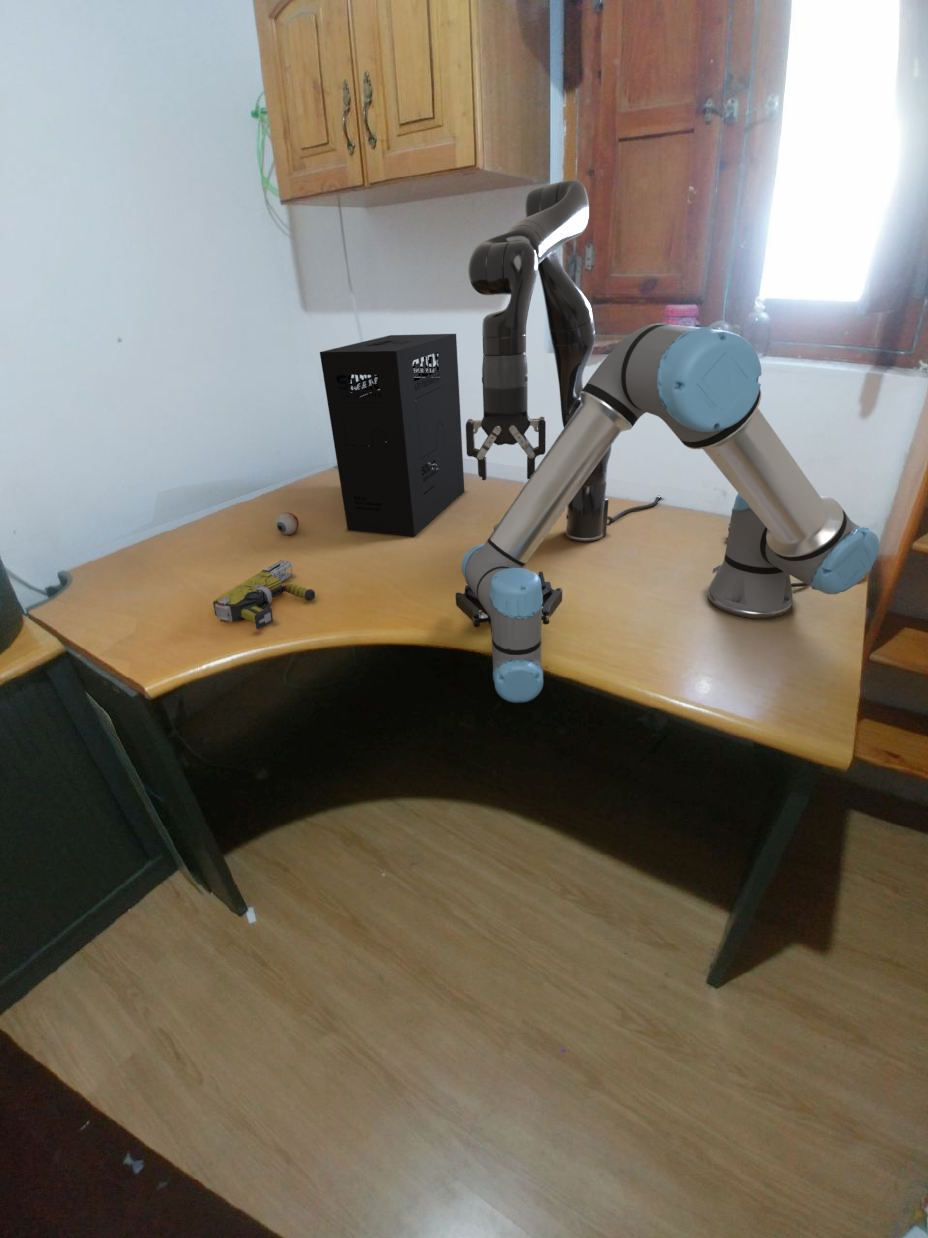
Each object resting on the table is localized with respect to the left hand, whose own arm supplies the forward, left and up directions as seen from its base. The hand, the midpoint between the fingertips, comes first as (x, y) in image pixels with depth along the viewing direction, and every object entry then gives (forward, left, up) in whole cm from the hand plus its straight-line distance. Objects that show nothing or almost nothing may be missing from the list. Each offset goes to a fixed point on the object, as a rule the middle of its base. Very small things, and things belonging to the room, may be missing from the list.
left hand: (506, 478), depth 109 cm
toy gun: (+43, -25, -27) cm, 57 cm away
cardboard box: (0, -67, -27) cm, 73 cm away
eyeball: (+35, -65, -27) cm, 79 cm away
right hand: (-1, -2, -21) cm, 21 cm away
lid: (0, 0, -10) cm, 10 cm away
